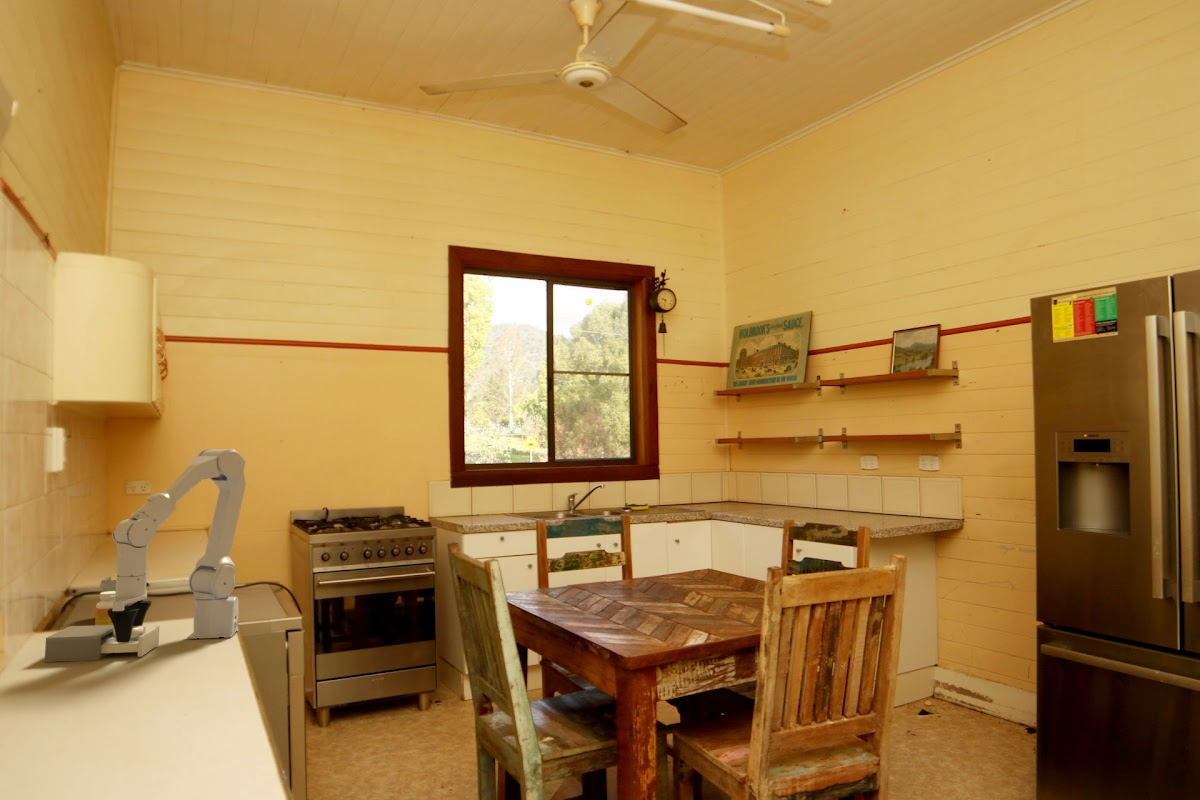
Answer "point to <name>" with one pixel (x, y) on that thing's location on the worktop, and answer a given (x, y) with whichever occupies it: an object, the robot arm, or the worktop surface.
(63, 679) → the worktop surface
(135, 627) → the disc
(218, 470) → the robot arm
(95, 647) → the grey boxy piece
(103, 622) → the supplement bottle
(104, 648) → the tray
